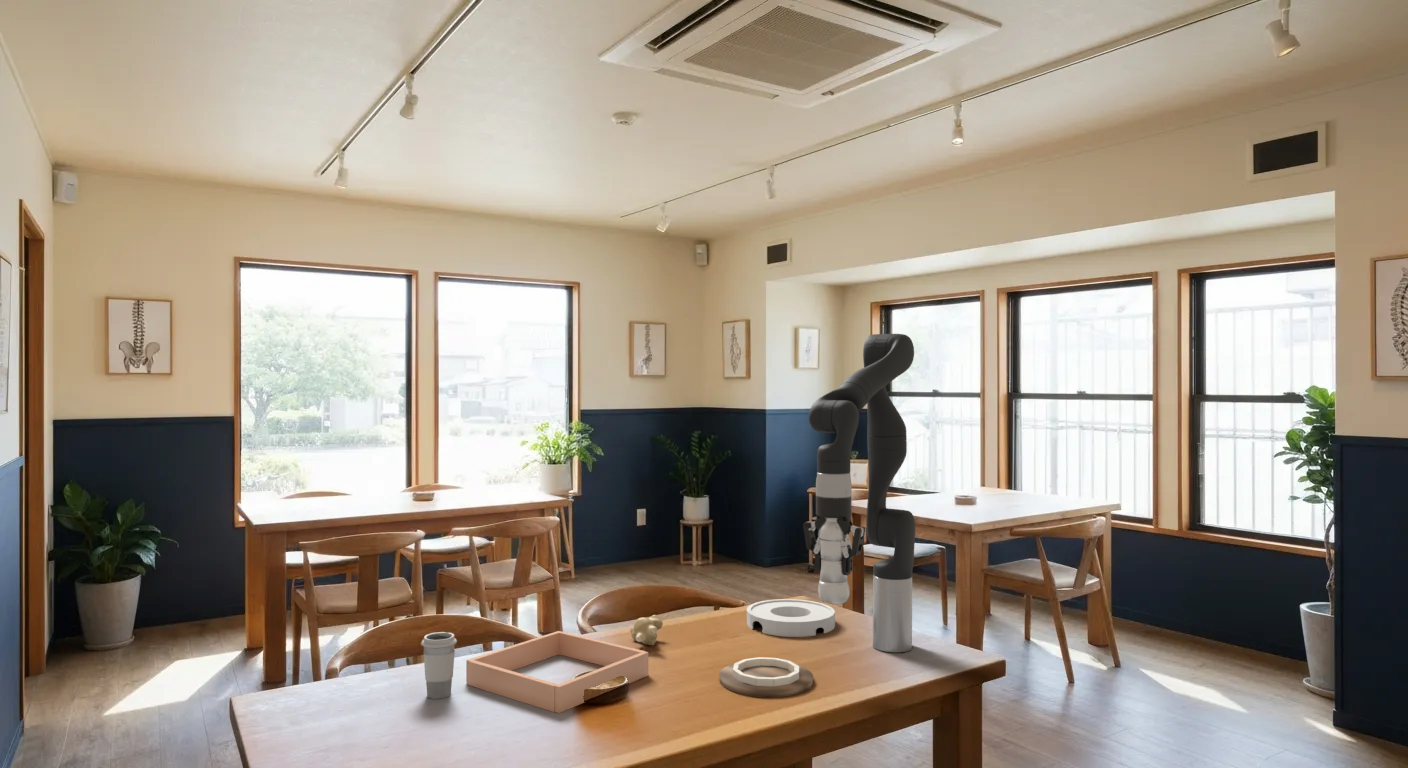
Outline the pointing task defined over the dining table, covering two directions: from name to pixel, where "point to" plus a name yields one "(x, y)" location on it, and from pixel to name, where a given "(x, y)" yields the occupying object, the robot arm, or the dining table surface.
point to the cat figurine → (646, 629)
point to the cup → (439, 663)
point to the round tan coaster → (766, 691)
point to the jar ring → (766, 680)
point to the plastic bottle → (832, 563)
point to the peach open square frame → (500, 679)
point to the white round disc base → (791, 617)
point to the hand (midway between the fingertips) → (833, 572)
